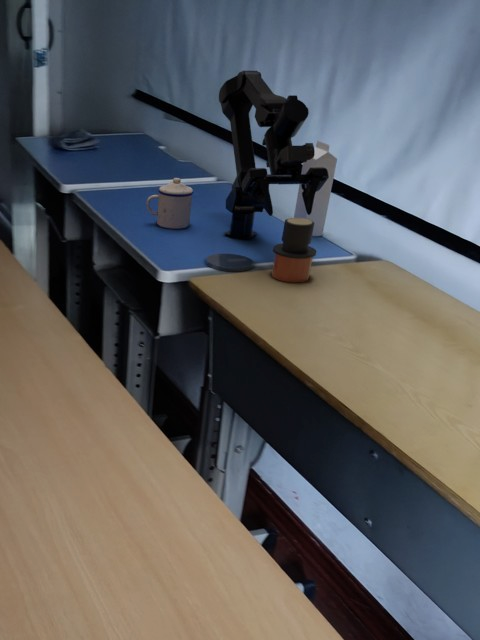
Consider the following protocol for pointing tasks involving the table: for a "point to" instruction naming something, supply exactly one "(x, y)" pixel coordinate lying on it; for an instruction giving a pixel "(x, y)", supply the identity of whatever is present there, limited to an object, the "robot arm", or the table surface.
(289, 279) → the cup
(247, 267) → the saucer
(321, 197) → the milk
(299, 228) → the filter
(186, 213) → the teacup with lid
